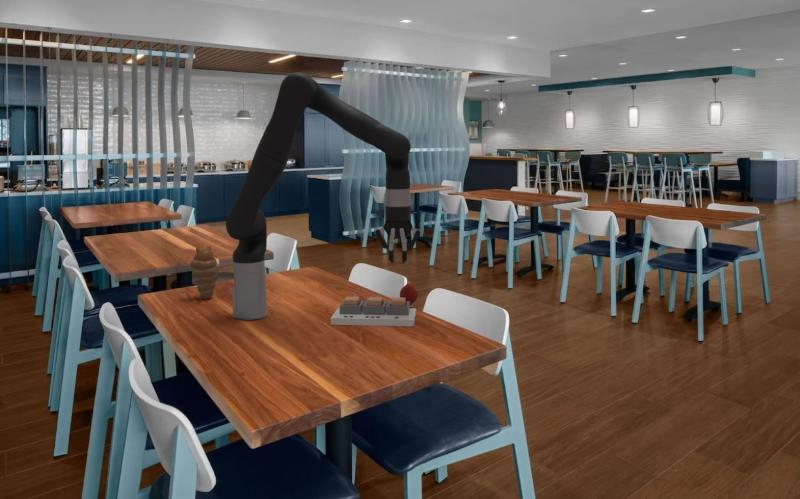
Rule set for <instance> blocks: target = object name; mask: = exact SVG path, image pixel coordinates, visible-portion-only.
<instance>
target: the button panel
mask: <svg viewBox="0 0 800 499" xmlns="http://www.w3.org/2000/svg"><path fill="white" fill-rule="evenodd" d="M339 304H340V305H339V306H338V307H337V309H336V310H335V311H334V313H333V314H332V316H331V317H330V325H331V326H340V325H341V326H367V327H368V326H374V327H412V326H415V322H416V318H415V317H417V308H414V307H413V308H411V305H410V302H408V301H406V305H405V306H391V300H388V301H387V300H383V304H382V306H368V301H367V300H360V303H359V305H344V300H342V302H341V303H339Z"/></svg>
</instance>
